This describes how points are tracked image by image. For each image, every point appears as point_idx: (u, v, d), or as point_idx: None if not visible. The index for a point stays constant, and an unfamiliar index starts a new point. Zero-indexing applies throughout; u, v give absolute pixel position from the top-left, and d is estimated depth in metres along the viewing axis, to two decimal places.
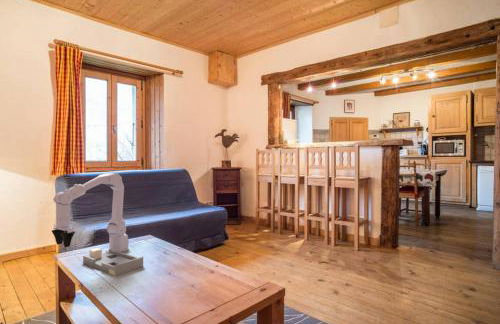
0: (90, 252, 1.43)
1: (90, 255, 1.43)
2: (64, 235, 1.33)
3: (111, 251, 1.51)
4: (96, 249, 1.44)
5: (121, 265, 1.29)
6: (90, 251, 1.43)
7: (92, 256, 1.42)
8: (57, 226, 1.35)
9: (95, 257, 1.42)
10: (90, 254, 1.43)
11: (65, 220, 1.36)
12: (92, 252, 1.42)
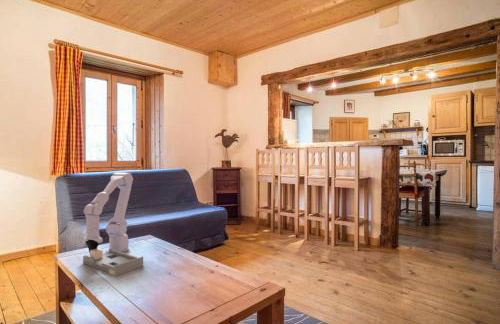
0: (91, 252, 1.43)
1: (91, 255, 1.43)
2: (91, 244, 1.43)
3: (111, 251, 1.51)
4: (97, 249, 1.44)
5: (121, 265, 1.29)
6: (91, 251, 1.43)
7: (93, 256, 1.42)
8: (87, 236, 1.43)
9: (96, 257, 1.42)
10: (91, 254, 1.43)
11: (95, 231, 1.44)
12: (93, 252, 1.42)
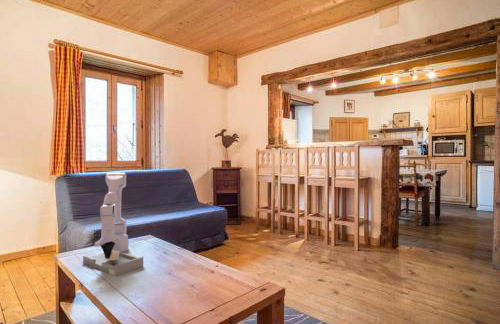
0: None
1: None
2: (101, 246, 1.37)
3: None
4: (114, 251, 1.41)
5: (121, 265, 1.29)
6: None
7: (110, 257, 1.38)
8: None
9: (113, 258, 1.38)
10: None
11: (103, 233, 1.36)
12: (111, 252, 1.39)
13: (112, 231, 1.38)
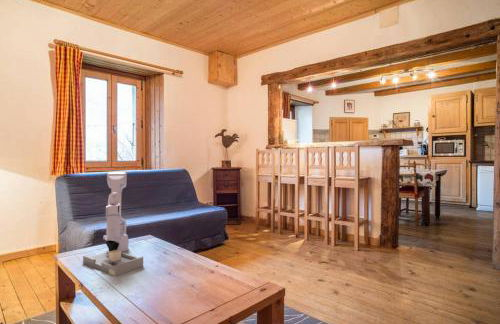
0: (109, 254, 1.40)
1: (109, 257, 1.40)
2: (111, 245, 1.41)
3: None
4: (115, 251, 1.42)
5: (121, 265, 1.29)
6: (109, 253, 1.40)
7: (112, 258, 1.39)
8: (108, 237, 1.42)
9: (115, 259, 1.40)
10: (109, 256, 1.40)
11: (116, 232, 1.43)
12: (112, 254, 1.39)
13: None
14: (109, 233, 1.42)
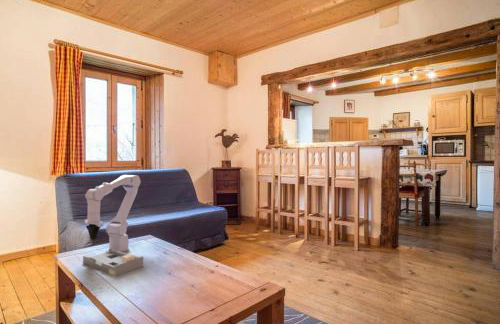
0: (123, 259, 1.34)
1: (123, 262, 1.34)
2: (92, 228, 1.44)
3: (111, 251, 1.51)
4: (129, 255, 1.35)
5: (121, 265, 1.29)
6: (123, 257, 1.34)
7: None
8: (88, 221, 1.45)
9: None
10: (123, 260, 1.34)
11: (96, 215, 1.46)
12: (125, 259, 1.33)
13: None
14: (89, 217, 1.44)
